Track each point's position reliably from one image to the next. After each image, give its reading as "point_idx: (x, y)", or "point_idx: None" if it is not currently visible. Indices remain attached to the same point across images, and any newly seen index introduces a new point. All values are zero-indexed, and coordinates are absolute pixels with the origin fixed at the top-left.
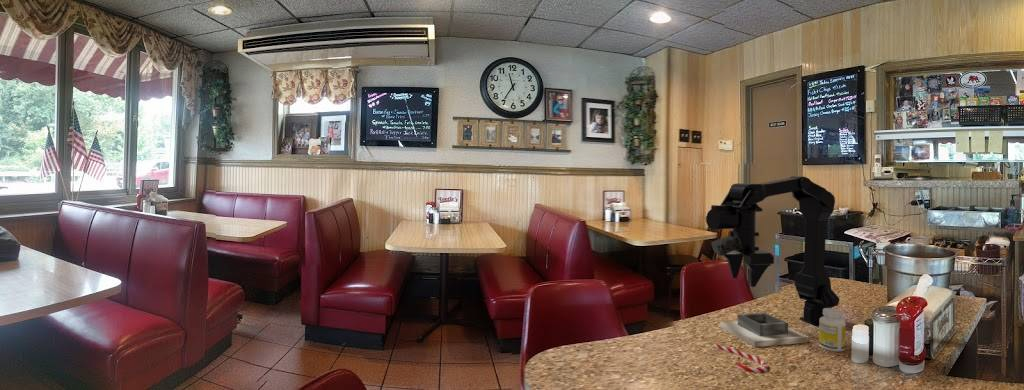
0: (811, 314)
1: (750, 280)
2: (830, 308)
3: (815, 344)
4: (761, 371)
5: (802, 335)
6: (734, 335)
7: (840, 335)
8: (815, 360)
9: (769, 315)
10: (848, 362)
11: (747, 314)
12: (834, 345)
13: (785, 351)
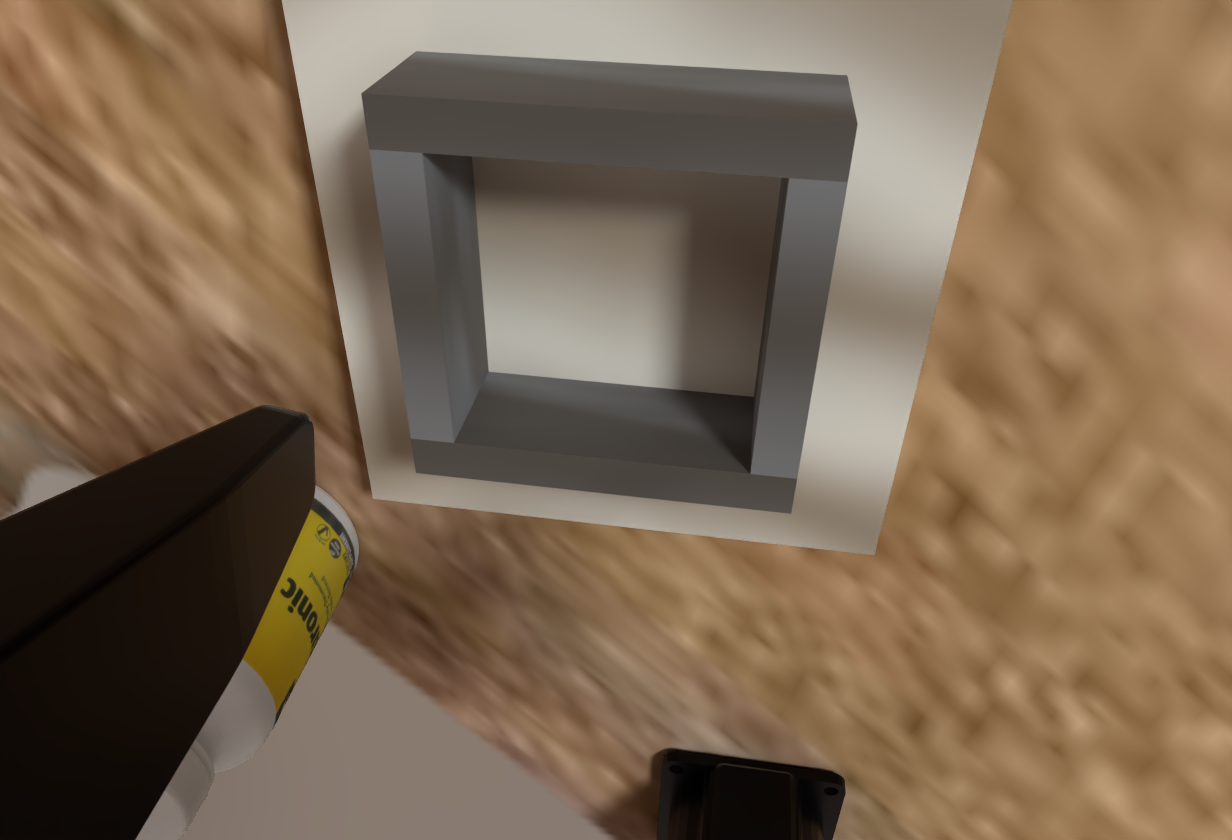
0: (711, 829)
1: (121, 499)
2: (172, 832)
3: (348, 478)
4: None
5: (405, 481)
6: None
7: None
8: (11, 210)
9: (682, 488)
10: (21, 409)
11: (808, 274)
12: None
13: (185, 108)
